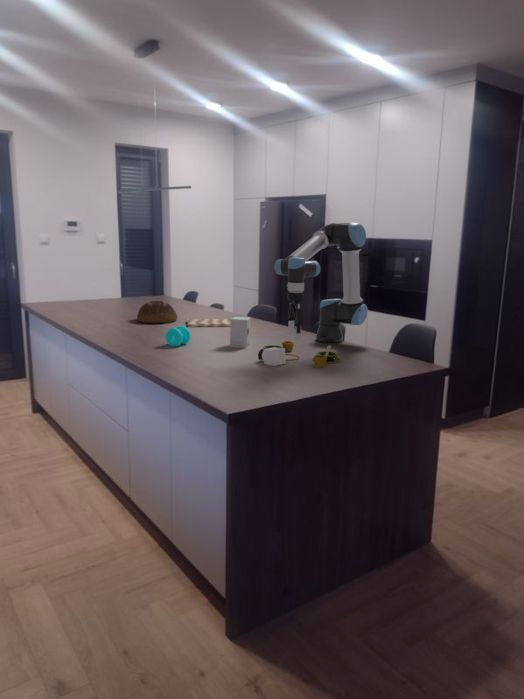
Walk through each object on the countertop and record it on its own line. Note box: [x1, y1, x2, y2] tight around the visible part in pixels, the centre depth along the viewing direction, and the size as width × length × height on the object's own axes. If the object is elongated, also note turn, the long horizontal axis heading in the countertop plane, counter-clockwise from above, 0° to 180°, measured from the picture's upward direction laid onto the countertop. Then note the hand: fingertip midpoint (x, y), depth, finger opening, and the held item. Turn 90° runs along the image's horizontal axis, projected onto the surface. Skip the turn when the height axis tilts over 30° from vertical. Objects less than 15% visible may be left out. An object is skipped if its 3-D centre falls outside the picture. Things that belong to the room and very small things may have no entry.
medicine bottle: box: [257, 347, 287, 367], centre depth 244 cm, size 7×7×12 cm
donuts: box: [165, 325, 191, 347], centre depth 278 cm, size 10×10×10 cm
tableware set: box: [262, 340, 341, 368], centre depth 257 cm, size 41×28×6 cm
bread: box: [136, 300, 178, 324], centre depth 351 cm, size 26×27×13 cm
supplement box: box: [229, 316, 251, 349], centre depth 279 cm, size 9×9×15 cm
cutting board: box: [186, 318, 232, 328], centre depth 344 cm, size 30×20×2 cm, turn 100°
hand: (294, 337), depth 251 cm, fingers open, 13 cm apart
